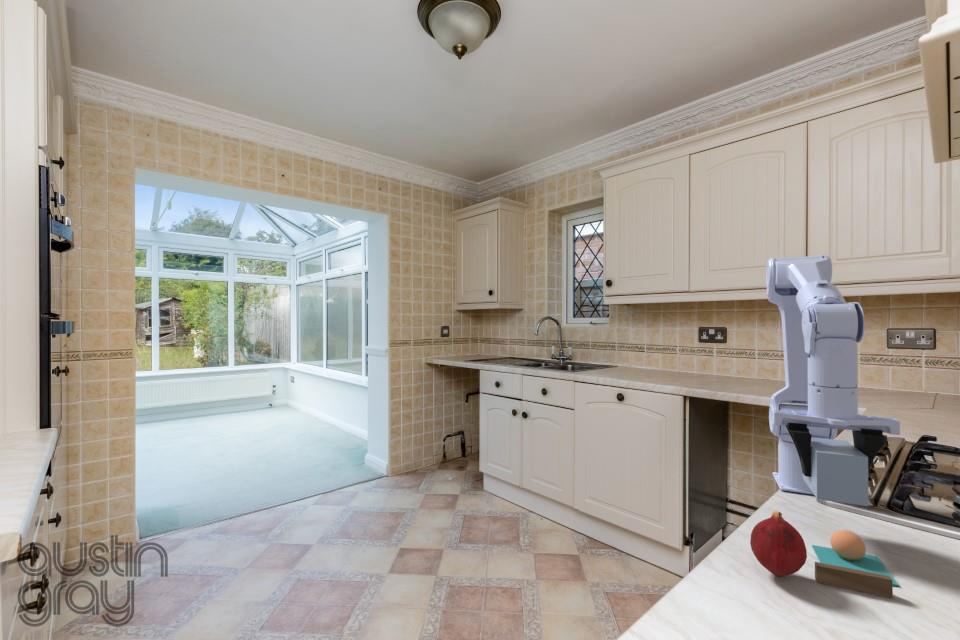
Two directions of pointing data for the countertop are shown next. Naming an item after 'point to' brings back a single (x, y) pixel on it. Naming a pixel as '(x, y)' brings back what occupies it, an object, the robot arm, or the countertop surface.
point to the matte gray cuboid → (838, 472)
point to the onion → (778, 546)
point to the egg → (848, 545)
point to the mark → (852, 562)
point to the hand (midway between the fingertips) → (832, 477)
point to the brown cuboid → (854, 579)
